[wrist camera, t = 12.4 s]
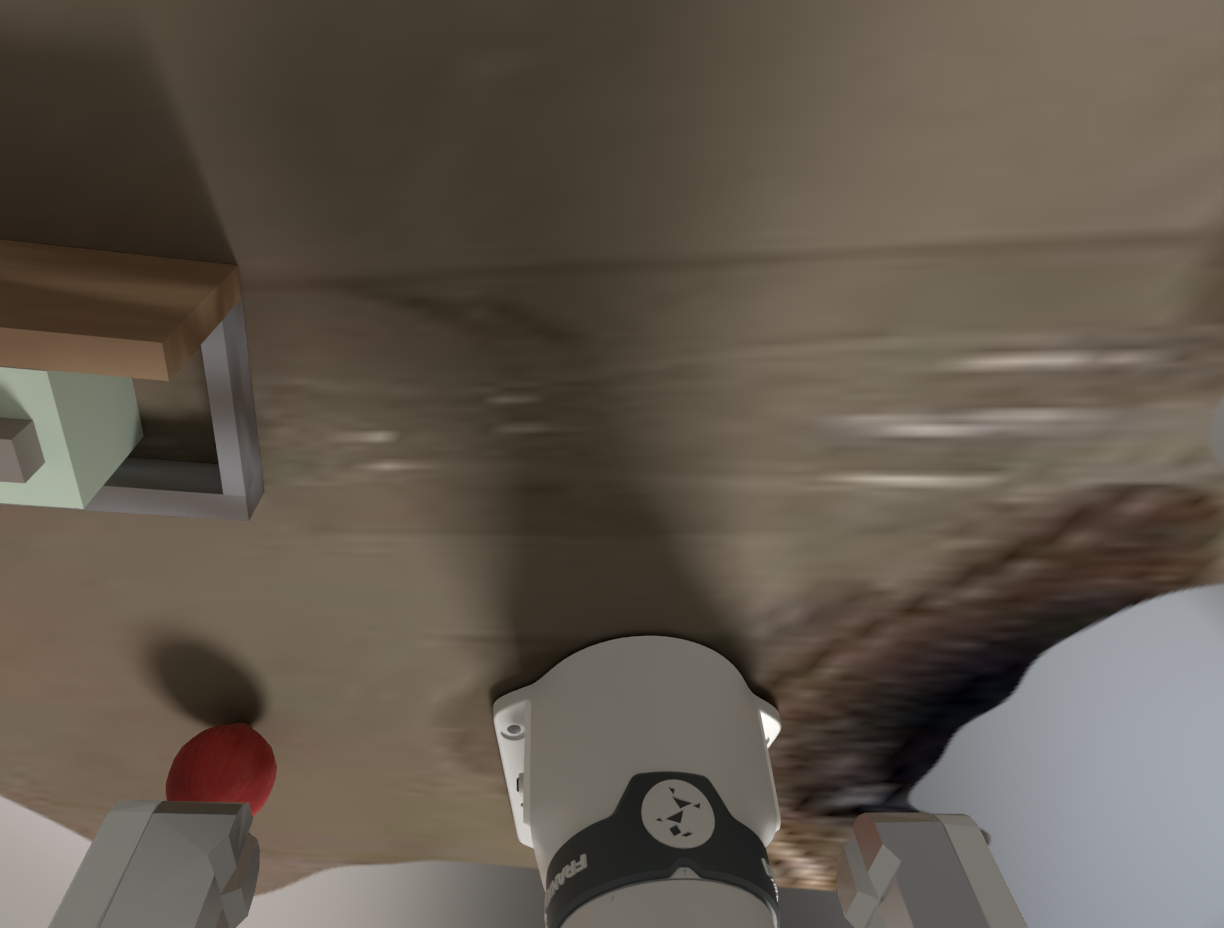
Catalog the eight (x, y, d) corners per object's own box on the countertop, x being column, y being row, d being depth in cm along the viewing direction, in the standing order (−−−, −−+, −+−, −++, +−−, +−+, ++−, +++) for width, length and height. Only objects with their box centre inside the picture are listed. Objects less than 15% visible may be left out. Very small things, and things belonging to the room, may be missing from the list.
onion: (256, 766, 52) (213, 886, 46) (175, 728, 50) (117, 849, 43) (308, 723, 50) (271, 841, 44) (227, 681, 48) (174, 800, 41)
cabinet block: (144, 435, 39) (65, 530, 32) (32, 426, 38) (-70, 521, 32) (118, 310, 35) (24, 389, 29) (-5, 298, 34) (-128, 376, 28)
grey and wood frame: (264, 491, 41) (207, 599, 34) (-80, 466, 39) (-212, 575, 32) (237, 265, 34) (162, 342, 28) (-176, 220, 32) (-367, 291, 25)
